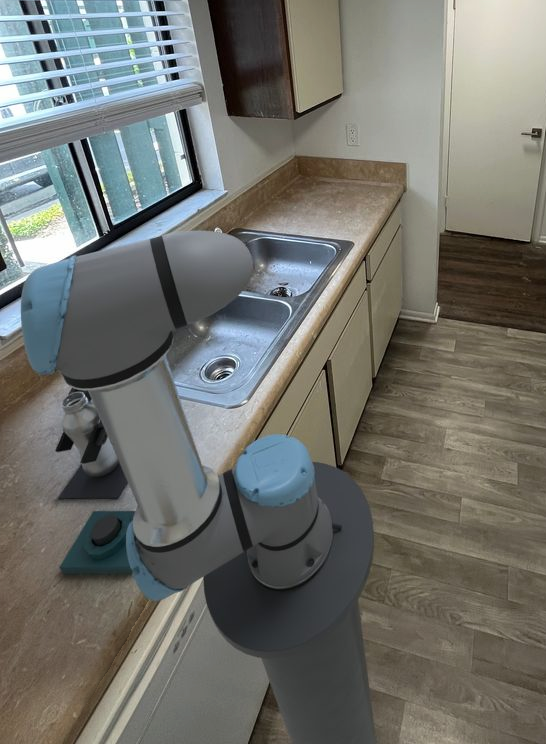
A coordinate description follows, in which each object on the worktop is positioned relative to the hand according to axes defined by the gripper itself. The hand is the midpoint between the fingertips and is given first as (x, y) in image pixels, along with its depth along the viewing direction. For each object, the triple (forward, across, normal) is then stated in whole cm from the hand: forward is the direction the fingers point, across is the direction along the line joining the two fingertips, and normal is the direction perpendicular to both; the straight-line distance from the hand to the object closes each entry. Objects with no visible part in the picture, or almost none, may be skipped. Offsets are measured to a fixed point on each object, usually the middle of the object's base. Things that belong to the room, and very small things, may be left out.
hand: (75, 455), depth 85 cm
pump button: (+8, -14, 0) cm, 16 cm away
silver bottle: (+4, 0, -9) cm, 9 cm away
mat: (+4, 0, -9) cm, 10 cm away
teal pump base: (+11, -14, -2) cm, 18 cm away
